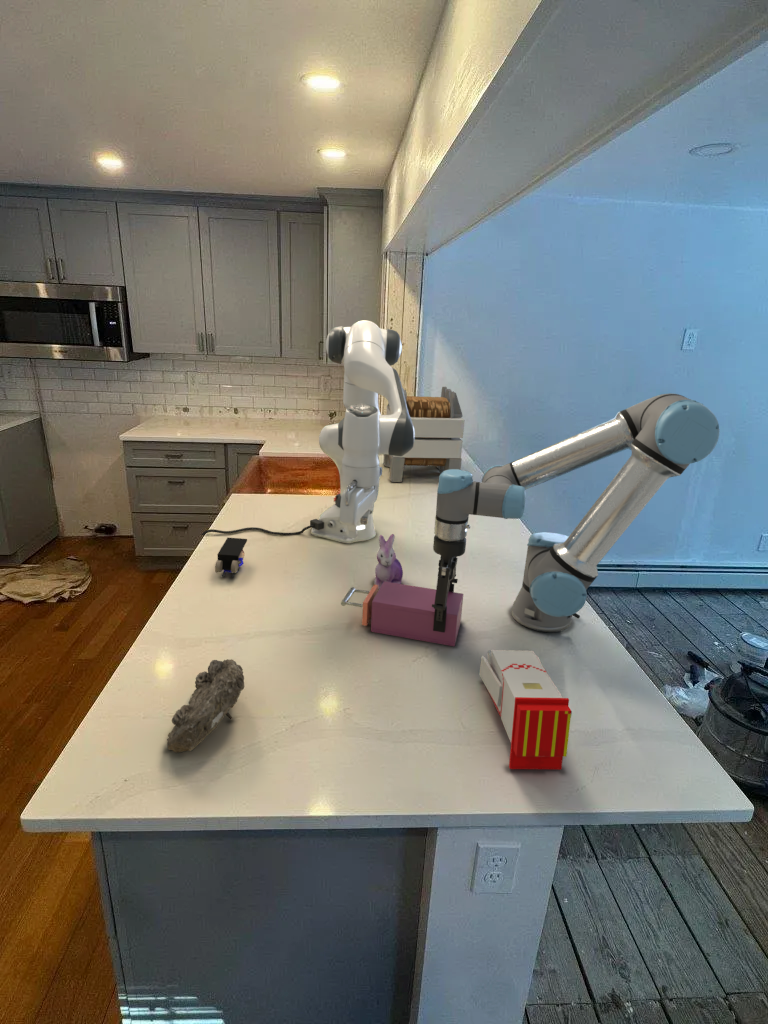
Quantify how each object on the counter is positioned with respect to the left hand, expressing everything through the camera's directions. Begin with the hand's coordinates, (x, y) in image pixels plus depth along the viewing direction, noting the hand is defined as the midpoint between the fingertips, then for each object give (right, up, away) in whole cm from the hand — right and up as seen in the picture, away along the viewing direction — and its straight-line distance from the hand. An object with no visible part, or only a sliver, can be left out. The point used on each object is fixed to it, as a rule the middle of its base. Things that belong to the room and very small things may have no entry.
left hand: (358, 530), depth 138 cm
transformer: (+23, +23, +137) cm, 141 cm away
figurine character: (-39, -13, +30) cm, 50 cm away
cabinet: (+14, -24, +4) cm, 29 cm away
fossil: (-27, -35, -30) cm, 53 cm away
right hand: (+21, -22, +1) cm, 30 cm away
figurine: (+7, -16, +25) cm, 31 cm away
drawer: (+8, -23, +5) cm, 25 cm away
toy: (+32, -36, -26) cm, 55 cm away
